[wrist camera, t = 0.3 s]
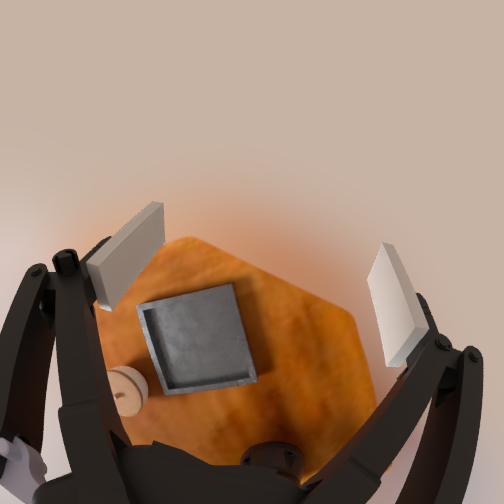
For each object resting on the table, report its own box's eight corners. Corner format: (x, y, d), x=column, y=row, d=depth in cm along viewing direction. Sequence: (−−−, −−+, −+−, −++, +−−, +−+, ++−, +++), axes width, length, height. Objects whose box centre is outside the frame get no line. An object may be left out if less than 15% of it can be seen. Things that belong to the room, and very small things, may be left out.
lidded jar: (110, 355, 52) (88, 369, 42) (152, 362, 51) (134, 379, 42) (117, 396, 51) (98, 413, 42) (157, 404, 51) (142, 425, 41)
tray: (258, 375, 50) (257, 381, 47) (169, 389, 51) (165, 395, 48) (233, 282, 51) (231, 283, 48) (142, 303, 51) (135, 305, 48)
